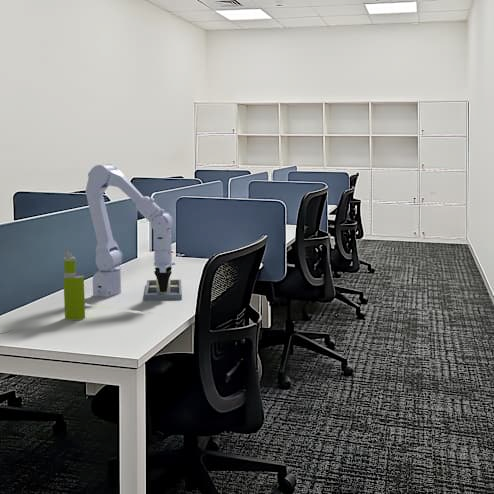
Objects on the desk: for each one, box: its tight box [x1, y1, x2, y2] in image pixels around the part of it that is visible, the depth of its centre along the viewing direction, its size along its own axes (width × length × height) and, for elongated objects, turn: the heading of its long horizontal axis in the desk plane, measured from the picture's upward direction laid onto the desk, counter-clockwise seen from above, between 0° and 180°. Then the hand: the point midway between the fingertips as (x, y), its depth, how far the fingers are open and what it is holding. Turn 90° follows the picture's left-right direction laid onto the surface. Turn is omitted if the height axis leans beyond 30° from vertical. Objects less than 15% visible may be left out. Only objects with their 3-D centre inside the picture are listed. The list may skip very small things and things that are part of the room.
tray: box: [144, 279, 183, 301], centre depth 234 cm, size 24×12×2 cm, turn 6°
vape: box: [62, 250, 86, 321], centre depth 201 cm, size 4×6×20 cm, turn 81°
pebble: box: [155, 276, 171, 294], centre depth 228 cm, size 5×5×6 cm
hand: (163, 289), depth 228 cm, fingers open, 5 cm apart
